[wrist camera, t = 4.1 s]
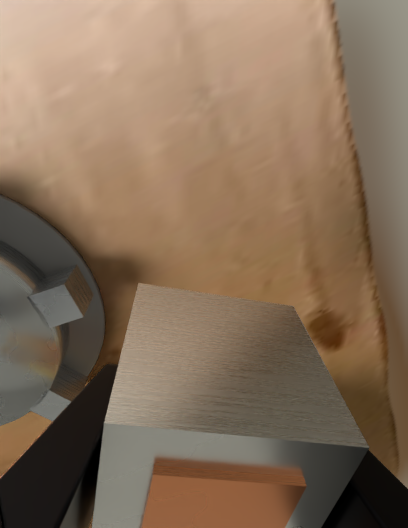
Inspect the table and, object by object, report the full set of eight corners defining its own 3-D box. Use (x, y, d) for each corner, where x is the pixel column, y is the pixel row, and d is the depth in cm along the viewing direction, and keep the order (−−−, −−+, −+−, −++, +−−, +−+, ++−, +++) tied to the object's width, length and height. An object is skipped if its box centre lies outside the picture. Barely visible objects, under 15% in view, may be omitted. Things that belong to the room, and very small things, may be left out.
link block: (253, 415, 10) (291, 589, 7) (121, 401, 10) (84, 583, 6) (293, 306, 9) (374, 457, 5) (138, 282, 8) (102, 432, 5)
